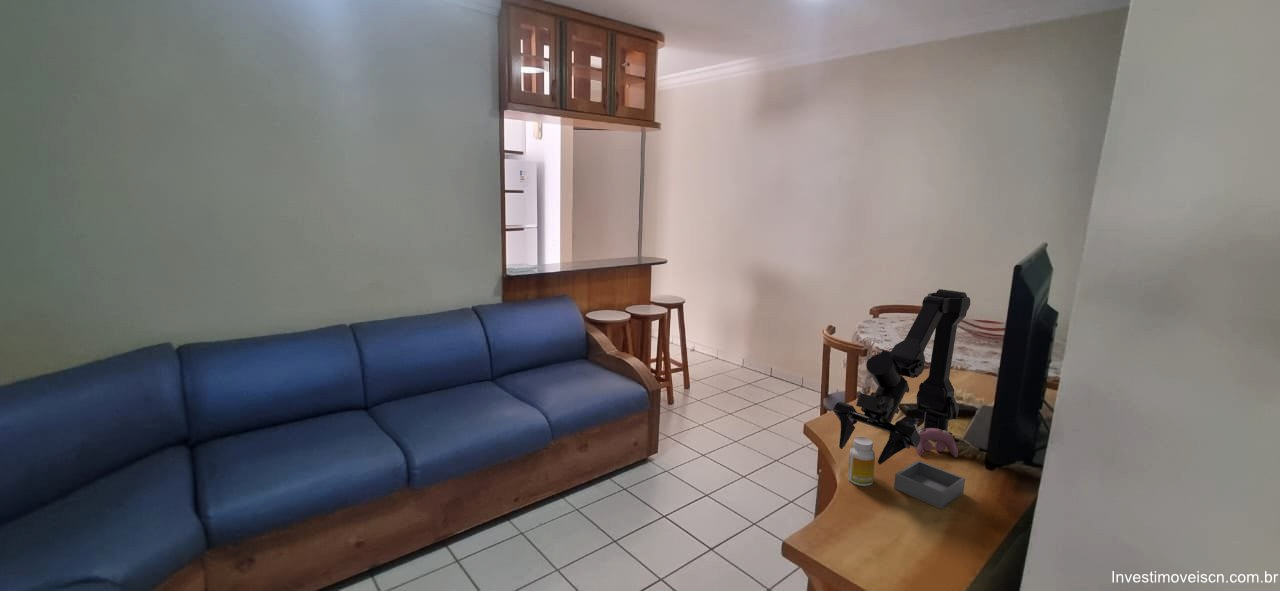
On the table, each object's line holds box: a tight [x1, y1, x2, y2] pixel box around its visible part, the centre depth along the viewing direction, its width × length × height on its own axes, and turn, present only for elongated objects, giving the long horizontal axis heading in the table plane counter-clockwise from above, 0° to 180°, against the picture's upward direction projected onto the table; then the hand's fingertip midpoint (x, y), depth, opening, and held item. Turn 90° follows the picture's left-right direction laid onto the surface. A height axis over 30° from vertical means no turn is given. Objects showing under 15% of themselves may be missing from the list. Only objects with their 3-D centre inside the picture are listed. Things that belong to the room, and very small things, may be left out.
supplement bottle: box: [847, 436, 876, 487], centre depth 123 cm, size 5×5×10 cm
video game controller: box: [914, 428, 959, 458], centre depth 137 cm, size 10×5×7 cm, turn 84°
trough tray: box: [893, 460, 966, 510], centre depth 119 cm, size 10×10×4 cm
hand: (859, 455), depth 122 cm, fingers open, 9 cm apart
